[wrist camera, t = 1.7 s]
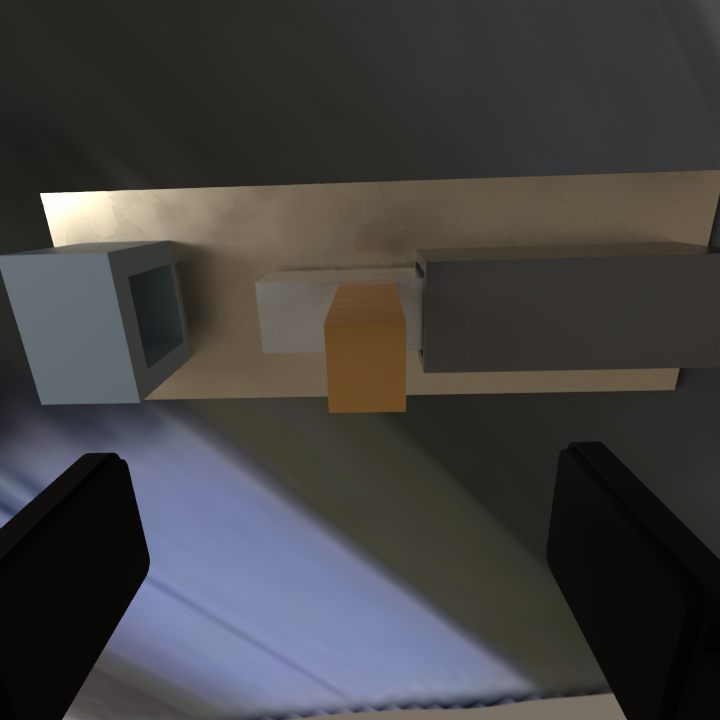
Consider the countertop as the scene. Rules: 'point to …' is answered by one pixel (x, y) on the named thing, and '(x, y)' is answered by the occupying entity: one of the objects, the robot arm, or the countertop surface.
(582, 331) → the stand
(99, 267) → the socket block
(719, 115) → the countertop surface
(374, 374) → the sliding bar with handle
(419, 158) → the countertop surface
